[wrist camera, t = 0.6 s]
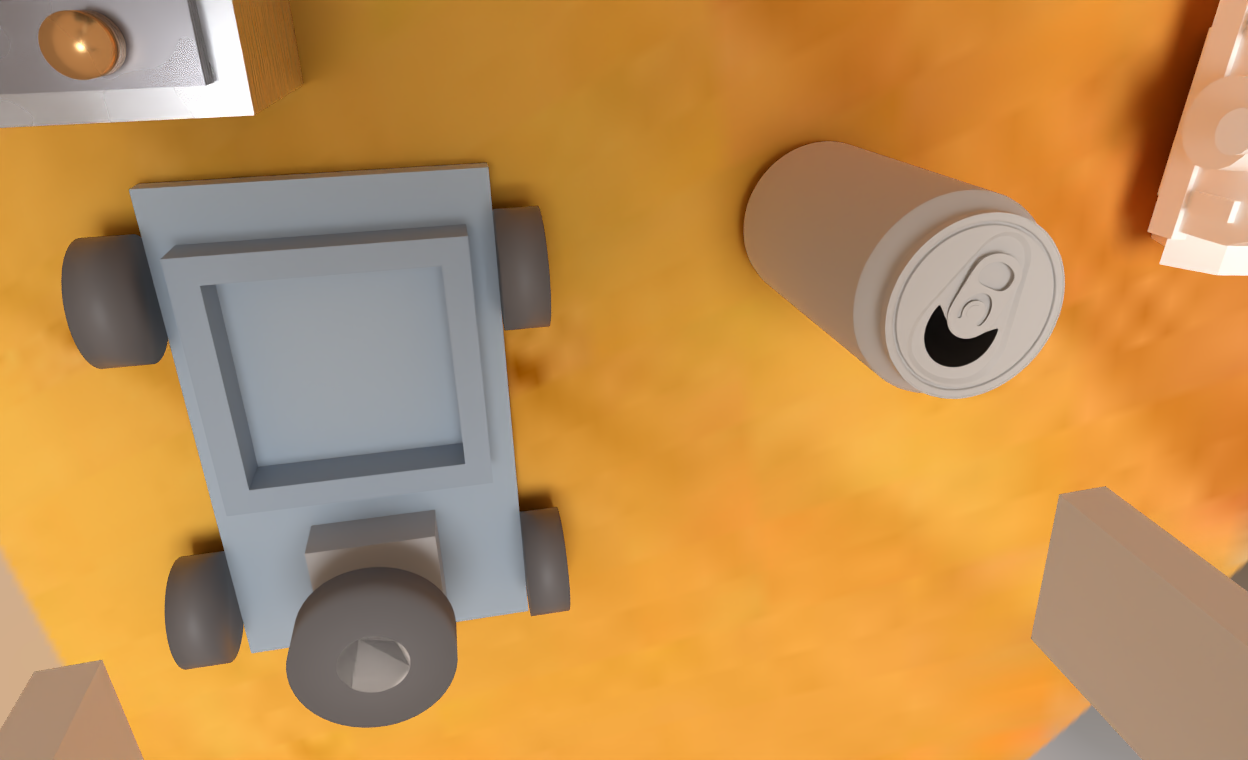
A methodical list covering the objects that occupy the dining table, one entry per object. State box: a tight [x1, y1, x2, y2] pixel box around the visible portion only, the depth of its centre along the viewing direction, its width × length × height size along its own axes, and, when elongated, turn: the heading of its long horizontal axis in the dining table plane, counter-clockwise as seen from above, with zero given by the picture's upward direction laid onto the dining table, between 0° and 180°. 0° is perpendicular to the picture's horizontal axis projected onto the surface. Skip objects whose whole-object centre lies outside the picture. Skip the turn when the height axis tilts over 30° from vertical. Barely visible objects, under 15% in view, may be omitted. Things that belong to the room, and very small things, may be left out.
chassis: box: [61, 163, 570, 669], centre depth 33 cm, size 20×15×4 cm
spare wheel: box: [286, 567, 457, 728], centre depth 33 cm, size 6×6×4 cm
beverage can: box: [743, 141, 1065, 399], centre depth 30 cm, size 6×6×12 cm
